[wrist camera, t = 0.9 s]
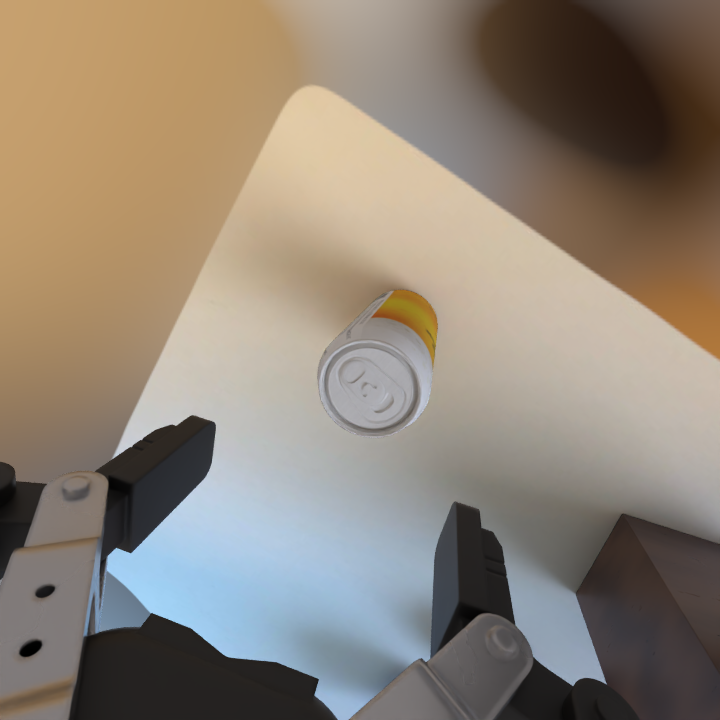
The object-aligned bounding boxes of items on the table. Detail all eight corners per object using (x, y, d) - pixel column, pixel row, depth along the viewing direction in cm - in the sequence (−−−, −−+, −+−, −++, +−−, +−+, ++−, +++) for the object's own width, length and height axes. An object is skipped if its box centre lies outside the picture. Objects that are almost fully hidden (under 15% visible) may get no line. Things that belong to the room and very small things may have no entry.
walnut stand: (622, 513, 35) (779, 772, 18) (744, 552, 34) (1030, 865, 17) (575, 594, 39) (672, 873, 22) (684, 631, 37) (874, 957, 21)
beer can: (398, 371, 35) (366, 465, 22) (352, 320, 35) (287, 382, 21) (453, 328, 33) (456, 400, 19) (404, 272, 33) (371, 305, 19)
